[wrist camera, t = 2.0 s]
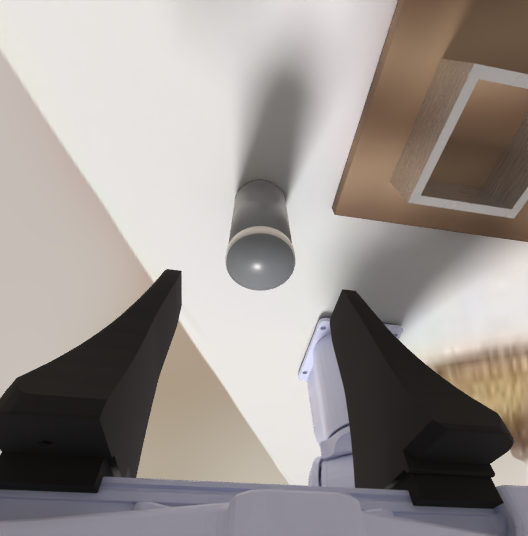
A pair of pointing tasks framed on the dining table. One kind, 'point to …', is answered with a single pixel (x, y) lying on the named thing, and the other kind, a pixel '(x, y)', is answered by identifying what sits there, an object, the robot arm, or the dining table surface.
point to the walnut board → (411, 99)
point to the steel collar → (437, 134)
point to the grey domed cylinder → (260, 238)
